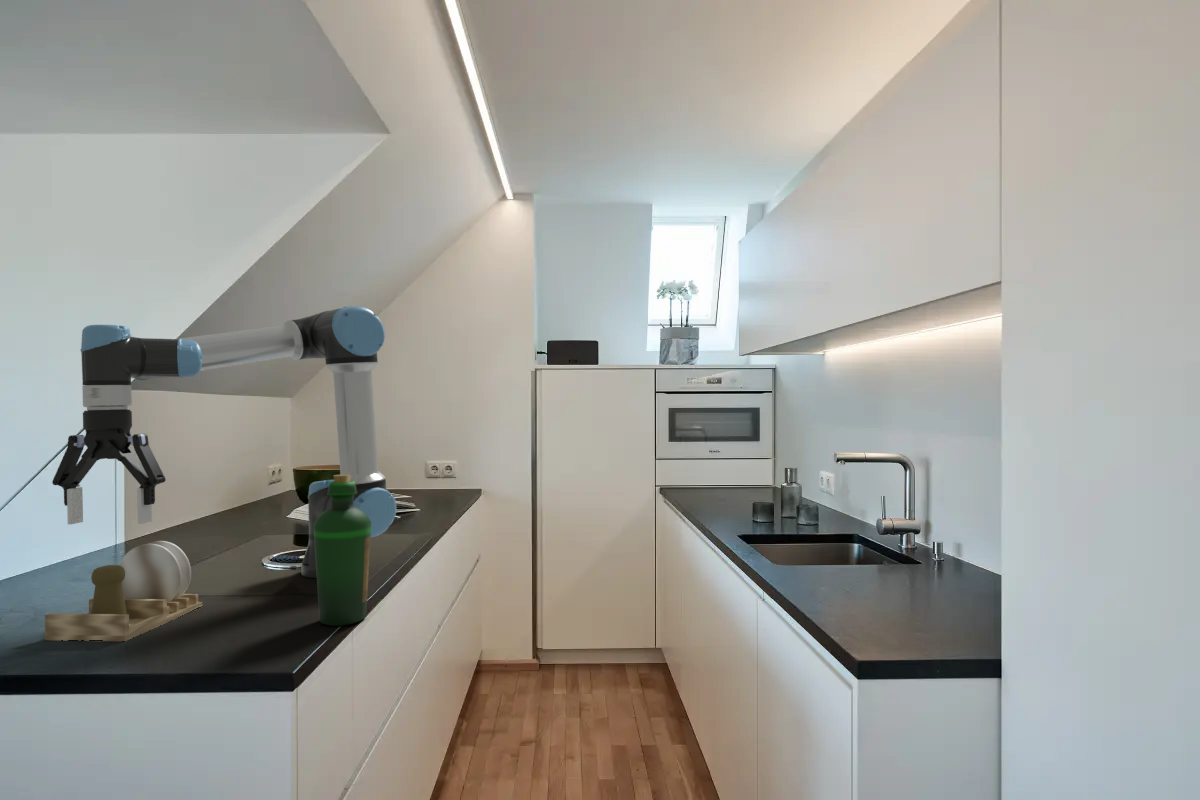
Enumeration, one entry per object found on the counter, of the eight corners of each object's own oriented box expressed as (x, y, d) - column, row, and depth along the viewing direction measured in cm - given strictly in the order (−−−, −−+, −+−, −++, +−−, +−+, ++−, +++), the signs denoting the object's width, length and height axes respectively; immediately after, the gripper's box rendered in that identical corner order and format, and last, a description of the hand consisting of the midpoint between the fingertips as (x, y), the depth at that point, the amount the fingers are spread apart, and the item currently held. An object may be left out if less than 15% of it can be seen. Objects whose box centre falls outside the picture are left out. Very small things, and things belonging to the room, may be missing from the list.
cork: (101, 621, 136) (101, 562, 136) (135, 619, 136) (134, 561, 136) (81, 631, 130) (80, 570, 130) (116, 629, 130) (116, 569, 130)
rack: (202, 606, 149) (202, 539, 149) (124, 641, 127) (124, 562, 127) (133, 605, 150) (133, 538, 150) (44, 640, 128) (44, 561, 128)
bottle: (383, 615, 142) (382, 473, 142) (347, 631, 132) (346, 478, 132) (338, 610, 145) (338, 472, 145) (300, 626, 135) (300, 477, 135)
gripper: (26, 410, 130) (29, 526, 130) (157, 407, 128) (160, 526, 129) (60, 409, 138) (63, 519, 138) (184, 407, 136) (187, 518, 136)
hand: (110, 523), depth 133 cm, fingers open, 13 cm apart
